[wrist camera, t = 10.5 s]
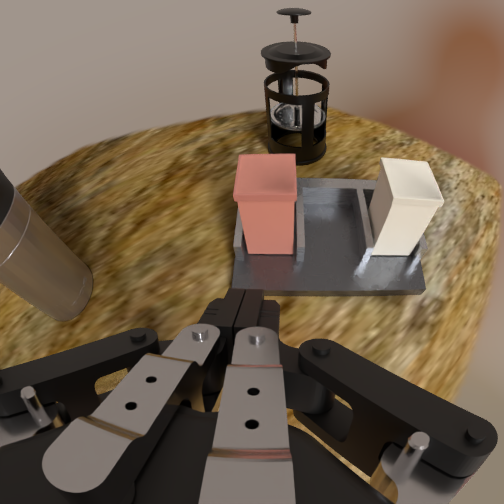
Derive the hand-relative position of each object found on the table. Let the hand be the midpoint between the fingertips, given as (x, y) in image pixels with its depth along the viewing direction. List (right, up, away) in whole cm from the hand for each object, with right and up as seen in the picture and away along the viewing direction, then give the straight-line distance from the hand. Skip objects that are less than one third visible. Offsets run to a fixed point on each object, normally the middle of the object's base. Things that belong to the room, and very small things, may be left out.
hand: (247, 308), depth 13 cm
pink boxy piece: (+3, +4, +22) cm, 22 cm away
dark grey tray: (+9, +3, +22) cm, 24 cm away
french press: (+7, +20, +33) cm, 39 cm away
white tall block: (+16, +4, +20) cm, 26 cm away
